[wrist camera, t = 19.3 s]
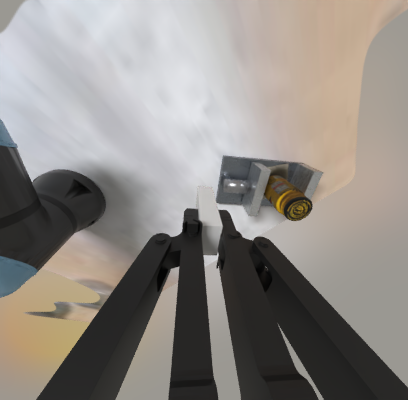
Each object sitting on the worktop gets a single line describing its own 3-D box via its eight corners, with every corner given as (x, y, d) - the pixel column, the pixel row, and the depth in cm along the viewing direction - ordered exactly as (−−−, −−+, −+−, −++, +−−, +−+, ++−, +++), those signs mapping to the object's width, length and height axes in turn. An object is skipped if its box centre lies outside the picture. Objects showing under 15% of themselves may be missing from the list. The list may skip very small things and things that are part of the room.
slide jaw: (219, 201, 41) (222, 214, 36) (226, 159, 36) (232, 167, 31) (248, 203, 42) (256, 216, 37) (259, 162, 37) (271, 170, 32)
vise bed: (215, 200, 43) (219, 215, 36) (223, 155, 37) (229, 163, 31) (285, 204, 45) (300, 219, 39) (302, 162, 39) (323, 172, 33)
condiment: (258, 199, 42) (280, 228, 32) (257, 169, 38) (282, 190, 28) (285, 194, 42) (317, 220, 31) (287, 162, 38) (324, 181, 27)
